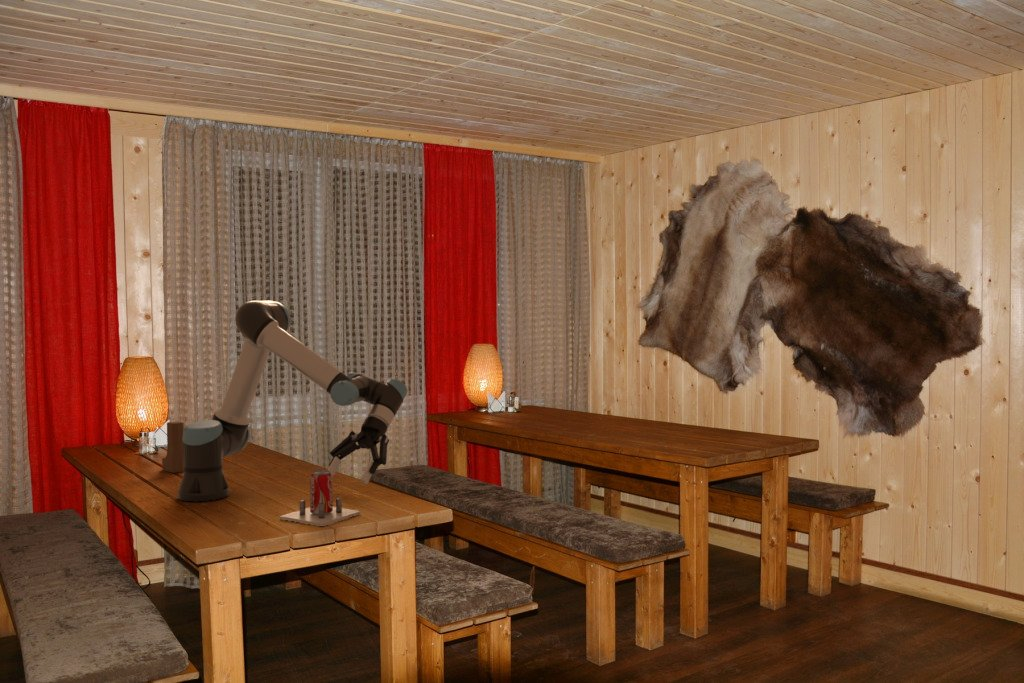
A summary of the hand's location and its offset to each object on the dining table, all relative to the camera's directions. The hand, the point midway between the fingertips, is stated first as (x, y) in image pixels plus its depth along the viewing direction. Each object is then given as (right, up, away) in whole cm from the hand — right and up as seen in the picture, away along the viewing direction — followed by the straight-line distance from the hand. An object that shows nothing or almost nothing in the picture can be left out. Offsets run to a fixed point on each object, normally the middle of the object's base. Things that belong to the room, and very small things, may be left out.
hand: (345, 479), depth 254 cm
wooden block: (-74, -6, +57) cm, 93 cm away
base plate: (-5, -9, -9) cm, 14 cm away
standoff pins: (-5, -9, -9) cm, 14 cm away
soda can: (-5, -8, -9) cm, 13 cm away
